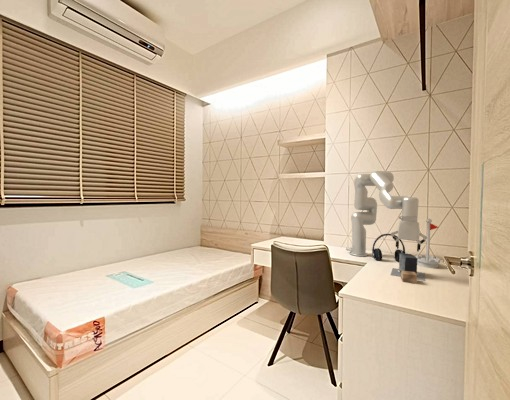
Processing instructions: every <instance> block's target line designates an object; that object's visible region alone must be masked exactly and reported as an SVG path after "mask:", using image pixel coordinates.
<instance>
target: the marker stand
mask: <svg viewBox="0 0 510 400" xmlns="http://www.w3.org/2000/svg"><path fill="white" fill-rule="evenodd" d="M425 221H426V236H427V239H426V252H425V253H426V254H421V255H420V254H415V257H416V258H417V266H419V267H424V268H427V269H436V268H437V267H438V268H439V265H440V264H441V258H440V257H439V256H436V258H435V256H434V255H430V243H431V241H430V240H431V239H430V238H431V231H432V230H435V229H438V228H439V226H438V225H435V224H433V223H432V218H427V219H426V220H425Z"/></svg>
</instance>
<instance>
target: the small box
mask: <svg viewBox="0 0 510 400" xmlns="http://www.w3.org/2000/svg"><path fill="white" fill-rule="evenodd" d="M398 264H399V265H398V269H399V271H400V272H401V270H402V271H411V272H415V273H416V275H417V272H418V265H417V258H416V255H413V254H412V253H406V252H405V253H400V259H399V261H398Z"/></svg>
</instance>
